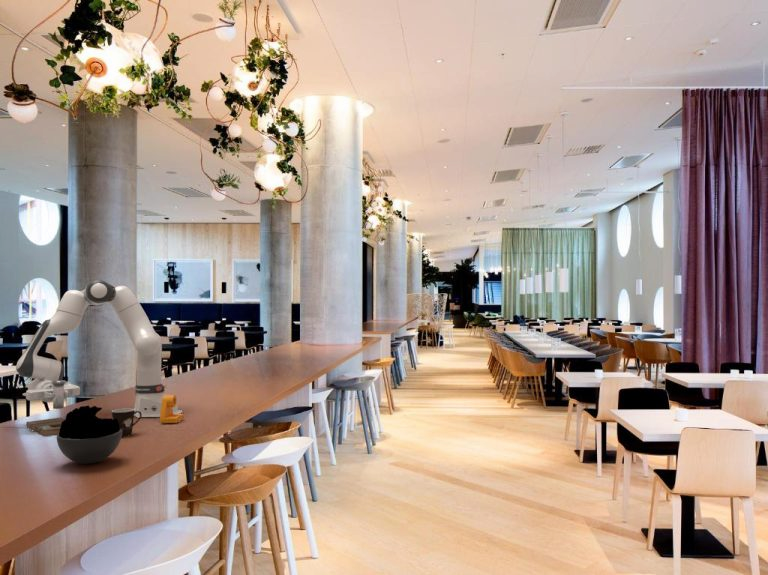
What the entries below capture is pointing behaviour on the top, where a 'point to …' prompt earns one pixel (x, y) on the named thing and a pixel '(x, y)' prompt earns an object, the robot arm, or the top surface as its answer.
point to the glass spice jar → (58, 394)
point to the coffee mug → (125, 419)
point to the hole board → (46, 426)
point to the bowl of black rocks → (88, 435)
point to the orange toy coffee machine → (169, 410)
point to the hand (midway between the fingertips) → (59, 395)
